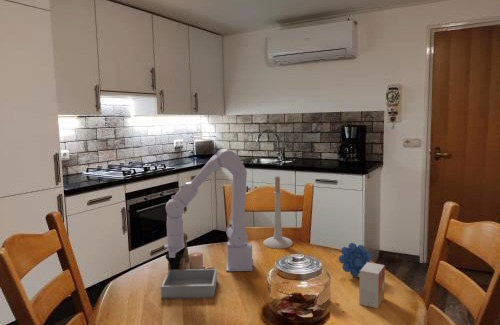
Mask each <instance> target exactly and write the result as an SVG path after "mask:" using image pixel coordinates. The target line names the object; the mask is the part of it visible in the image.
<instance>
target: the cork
mask: <svg viewBox="0 0 500 325" xmlns="http://www.w3.org/2000/svg"><path fill="white" fill-rule="evenodd" d="M183 233H184V245H185V246H186V249H185V251H184V254H183V258H185V264H186V263H188V262H189V248H188V242H187V241H188V234H187V233H186V232H183Z"/></svg>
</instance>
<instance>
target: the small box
mask: <svg viewBox="0 0 500 325" xmlns="http://www.w3.org/2000/svg"><path fill="white" fill-rule="evenodd" d="M370 262H371V261H370ZM370 262H367V263H366V264H365V265H364V267H363V268H362V269H361V270H360V273H359V282H358V283H359V289H358V290H359V292H358V294H359V295H358V304H359V305H361V306H366V307H369V308H374V309H379V308H380V305H381V304H382V302H383V300H384V299H385V281H386V280H385V277H386V276H385V275H386V272H385V271H386V265H385V264H380V263H374V262H371V263H370ZM383 298H384V299H383ZM380 303H381V304H380Z"/></svg>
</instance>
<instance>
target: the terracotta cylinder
mask: <svg viewBox="0 0 500 325" xmlns="http://www.w3.org/2000/svg"><path fill="white" fill-rule="evenodd" d="M188 254H189V253H188ZM188 262H189V263H188V264H189V266H188V267H189V269H204V256H203V253H202V252H199V251H198V252H196V251H195V252H192V253H191V252H190V254H189V261H188Z"/></svg>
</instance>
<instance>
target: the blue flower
mask: <svg viewBox="0 0 500 325" xmlns="http://www.w3.org/2000/svg"><path fill="white" fill-rule="evenodd" d="M340 249H341V250H340V252H341V255H339V257H338V260H339V262H340V263H341V264H342V270H343V271H344V272H345V273H346V272H347V273H349V272H350V274H351V276H352V277H355V278H357V277H358V276H360V270H361V269H362V268H363V267H364V265H365V264H366V263H367V262H370V263H372V262H371V260H372V259H373V256H372V254H371V253H370V252H369V251H367V250H366V246H364V245H363V244H359V245H357V244H356V243H354V242H350V243H349V244H348V247H347V246H343V247H342V248H340Z"/></svg>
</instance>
